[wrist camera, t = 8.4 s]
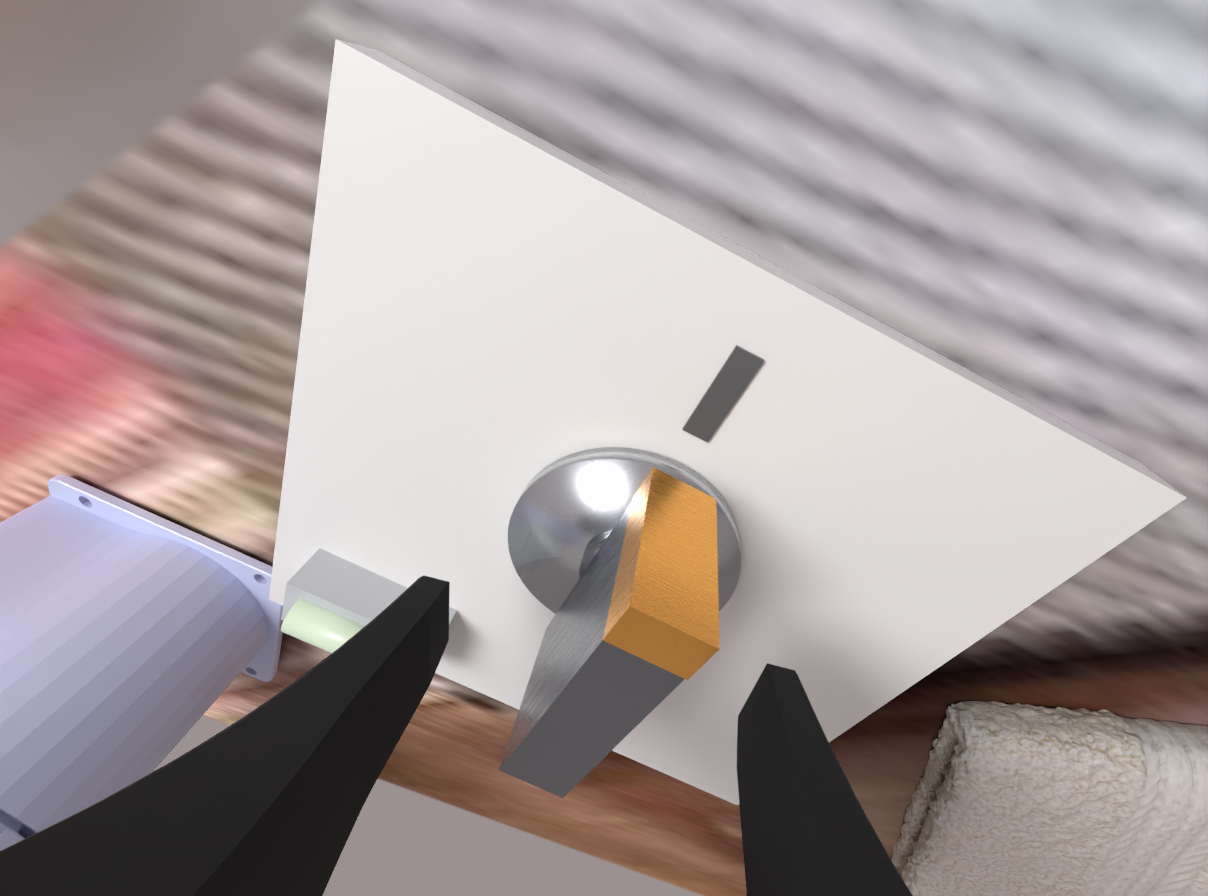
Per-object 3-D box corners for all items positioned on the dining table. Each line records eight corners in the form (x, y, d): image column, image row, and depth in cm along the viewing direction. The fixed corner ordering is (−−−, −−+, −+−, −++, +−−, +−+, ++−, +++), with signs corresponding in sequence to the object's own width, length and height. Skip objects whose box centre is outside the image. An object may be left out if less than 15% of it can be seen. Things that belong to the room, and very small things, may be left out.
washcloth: (860, 895, 27) (876, 976, 24) (933, 675, 18) (971, 766, 16) (1128, 937, 25) (1178, 1032, 22) (1364, 708, 16) (1494, 821, 13)
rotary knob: (666, 651, 17) (651, 843, 12) (485, 565, 16) (397, 733, 11) (797, 511, 13) (844, 709, 8) (571, 394, 12) (492, 540, 8)
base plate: (295, 571, 20) (216, 654, 17) (378, 50, 11) (237, 12, 8) (735, 767, 22) (740, 877, 19) (1138, 461, 13) (1291, 575, 9)
